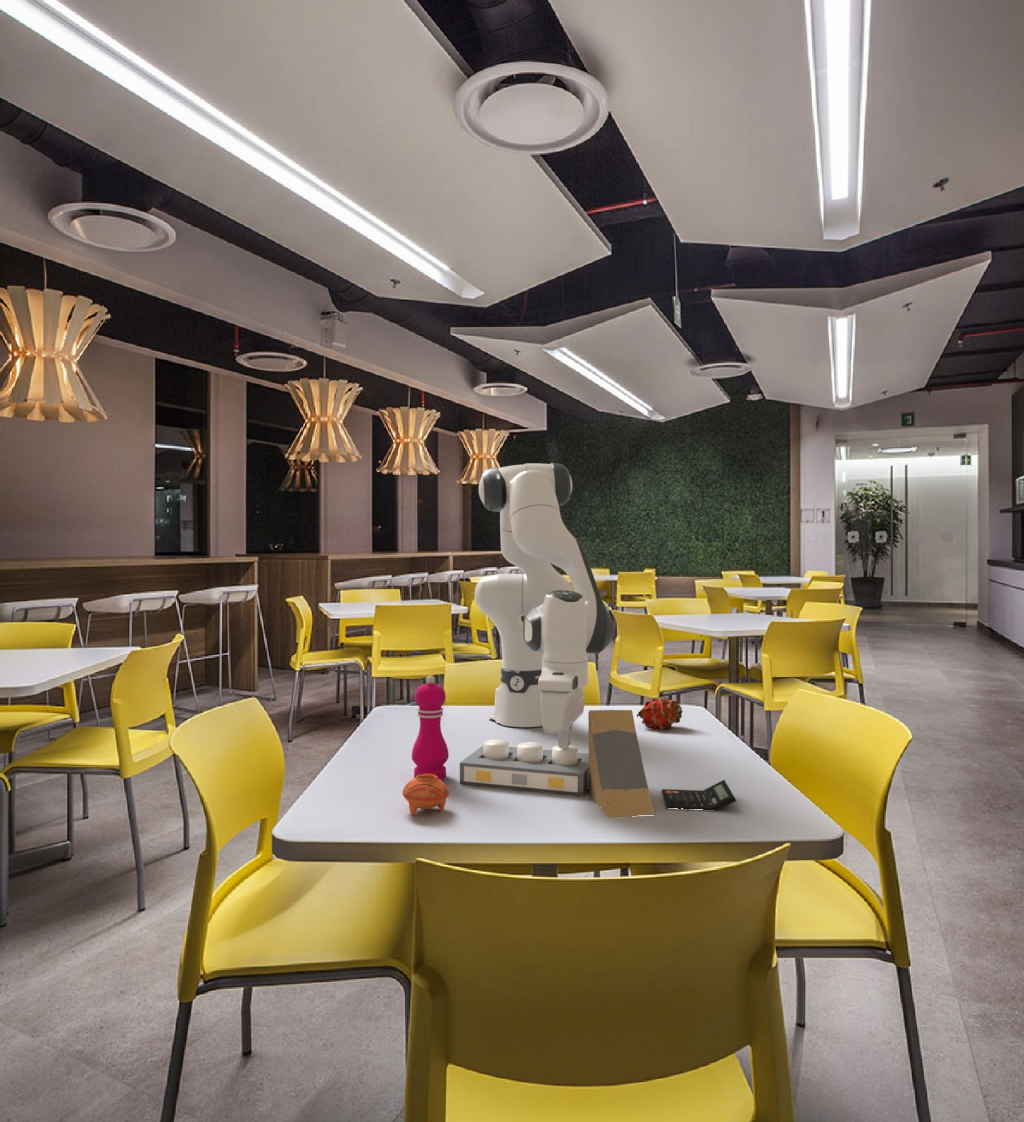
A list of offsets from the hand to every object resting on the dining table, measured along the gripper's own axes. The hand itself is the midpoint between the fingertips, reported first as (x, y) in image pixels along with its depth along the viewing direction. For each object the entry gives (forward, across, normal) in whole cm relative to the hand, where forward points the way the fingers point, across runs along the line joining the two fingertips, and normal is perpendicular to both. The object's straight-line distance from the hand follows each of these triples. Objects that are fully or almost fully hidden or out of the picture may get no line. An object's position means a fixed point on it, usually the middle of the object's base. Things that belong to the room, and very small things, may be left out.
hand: (564, 747), depth 140 cm
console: (+7, 0, -7) cm, 10 cm away
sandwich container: (+7, +8, +12) cm, 16 cm away
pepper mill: (+7, +5, -26) cm, 27 cm away
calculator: (+7, +4, +25) cm, 26 cm away
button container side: (+4, 0, 0) cm, 4 cm away
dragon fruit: (+7, -51, +13) cm, 53 cm away
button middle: (+4, 0, -7) cm, 8 cm away
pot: (+7, +23, -19) cm, 31 cm away
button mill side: (+4, 0, -14) cm, 15 cm away
